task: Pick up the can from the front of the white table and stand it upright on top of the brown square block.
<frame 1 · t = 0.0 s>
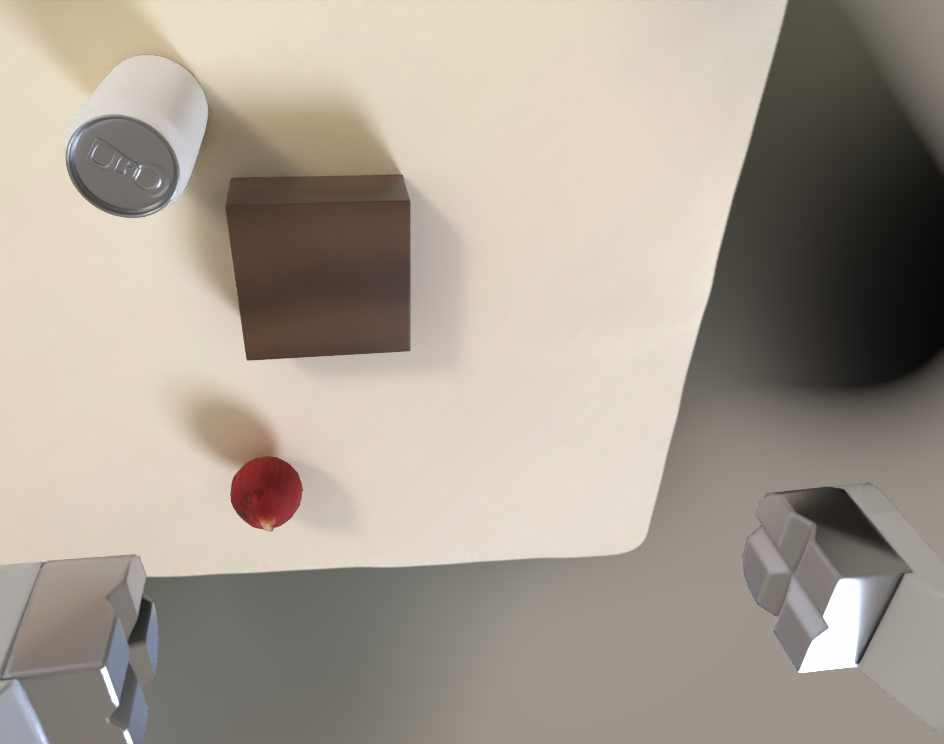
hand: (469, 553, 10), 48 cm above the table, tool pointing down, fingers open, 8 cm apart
can: (157, 104, 52), on the table
brown square block: (323, 253, 59), on the table
onion: (268, 461, 70), on the table
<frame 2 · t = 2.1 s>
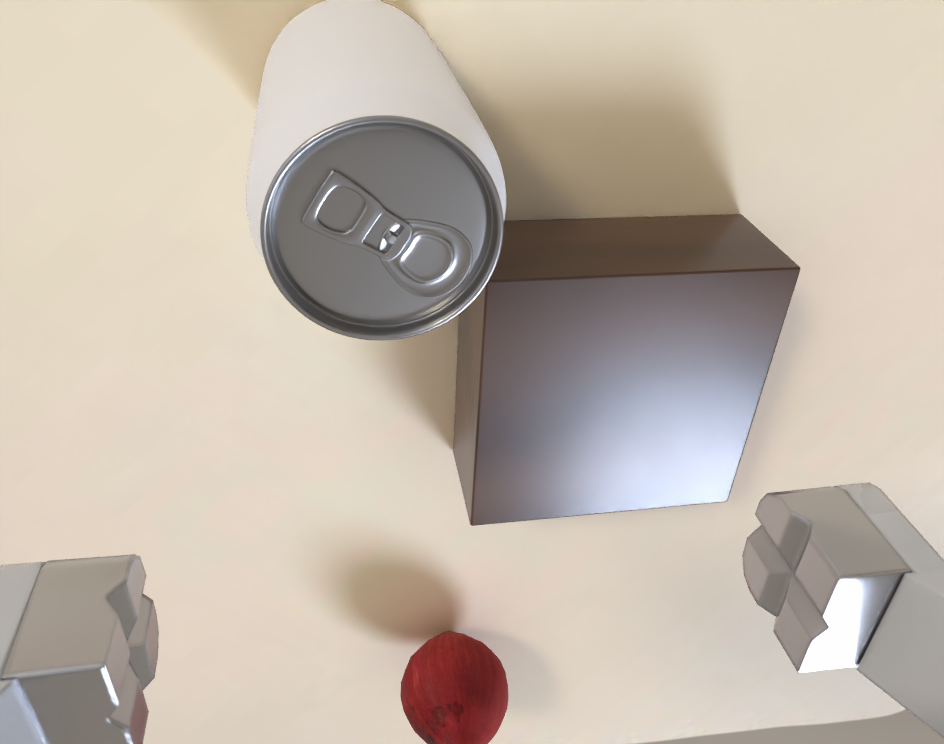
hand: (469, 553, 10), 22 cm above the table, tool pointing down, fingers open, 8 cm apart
can: (356, 91, 28), on the table
brown square block: (587, 340, 36), on the table
onion: (444, 632, 46), on the table
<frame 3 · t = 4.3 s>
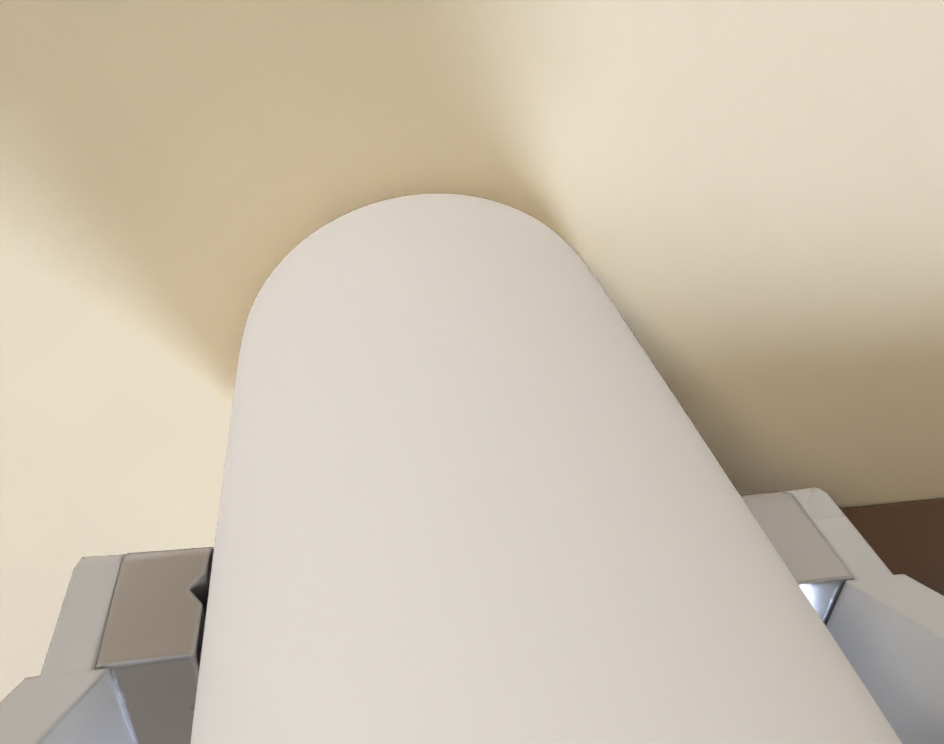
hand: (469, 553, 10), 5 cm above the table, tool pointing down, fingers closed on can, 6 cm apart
can: (425, 348, 14), on the table, touching gripper
brown square block: (779, 664, 22), on the table
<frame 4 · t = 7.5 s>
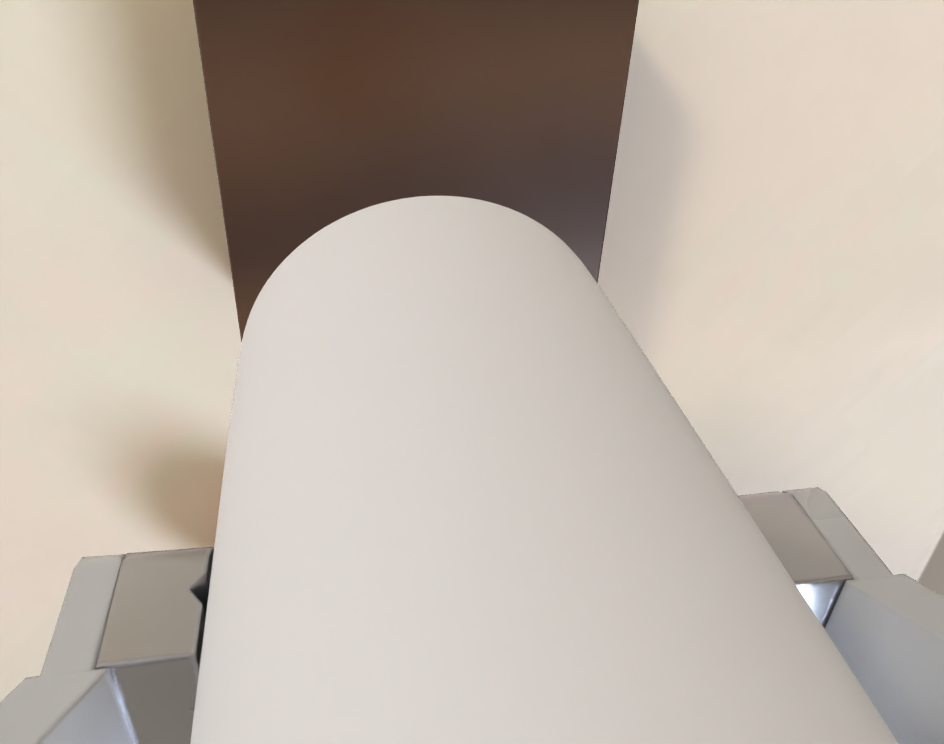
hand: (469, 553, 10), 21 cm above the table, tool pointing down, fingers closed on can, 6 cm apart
can: (425, 350, 14), point 16 cm above the table, touching gripper
brown square block: (407, 149, 28), on the table
when the fingers open (10 cm above the table, at t = 10.6 s): can stays where it is, resting on brown square block.
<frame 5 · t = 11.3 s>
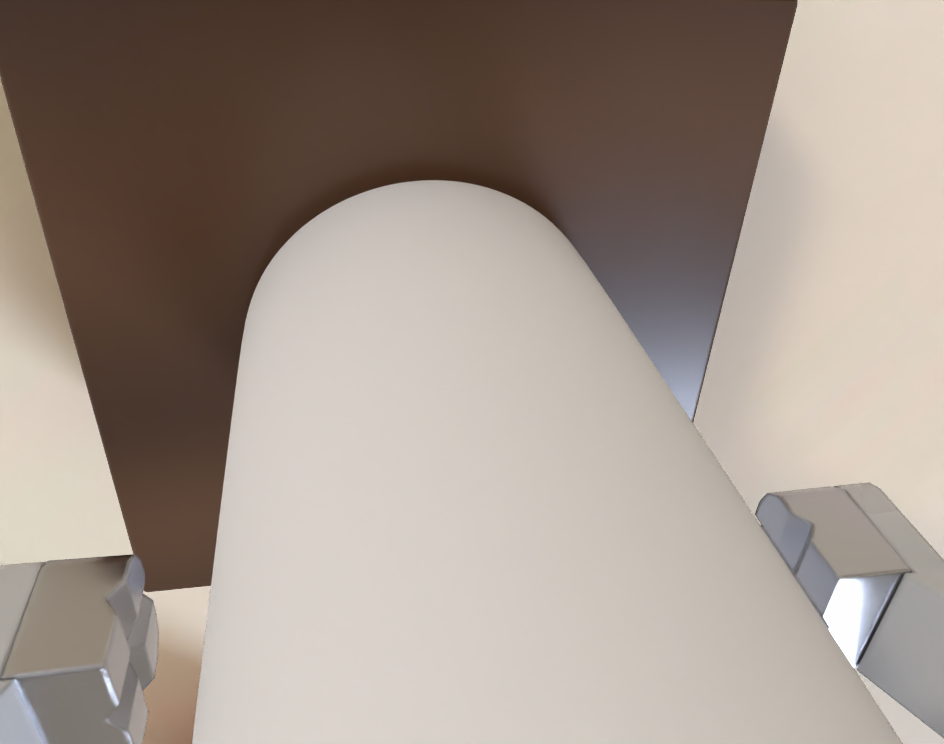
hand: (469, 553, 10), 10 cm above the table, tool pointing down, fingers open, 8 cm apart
can: (422, 332, 15), point 5 cm above the table, touching brown square block
brown square block: (395, 233, 19), on the table
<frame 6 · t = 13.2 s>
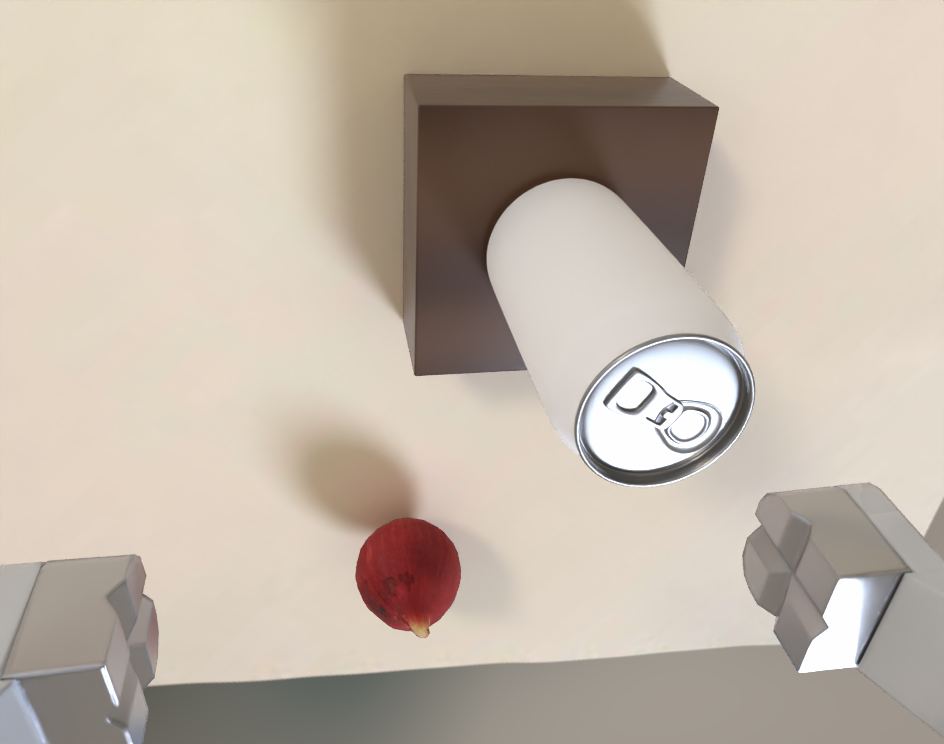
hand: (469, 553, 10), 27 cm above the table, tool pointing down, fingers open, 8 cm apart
can: (557, 246, 33), point 5 cm above the table, touching brown square block
brown square block: (529, 206, 37), on the table
onion: (401, 523, 47), on the table
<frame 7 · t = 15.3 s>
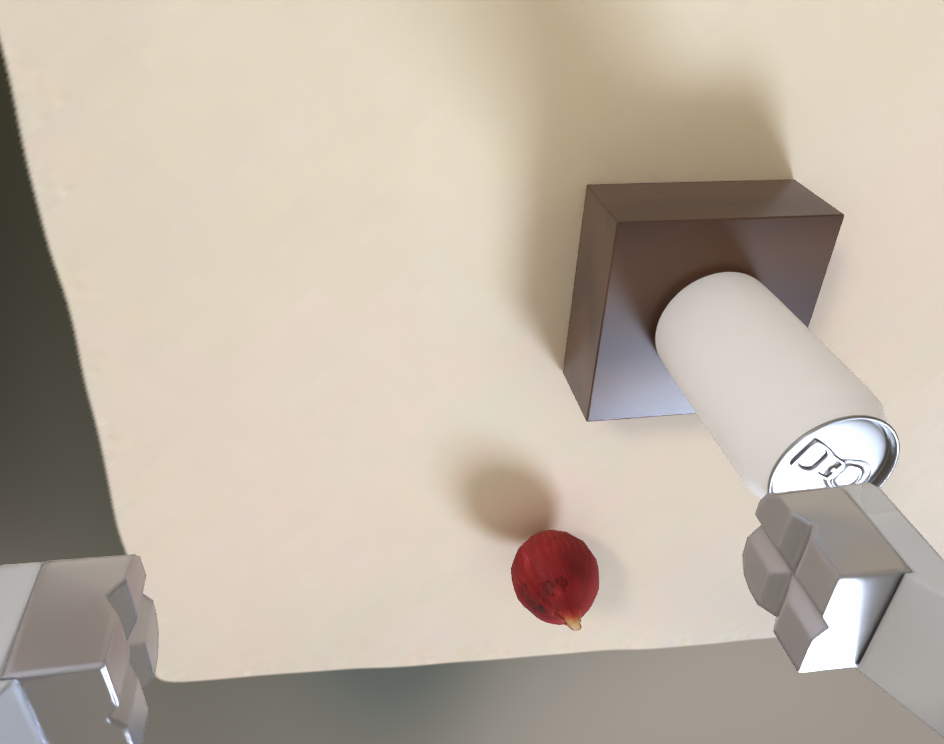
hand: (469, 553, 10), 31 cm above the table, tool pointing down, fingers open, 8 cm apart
can: (708, 320, 42), point 5 cm above the table, touching brown square block
brown square block: (672, 280, 46), on the table
onion: (540, 533, 56), on the table
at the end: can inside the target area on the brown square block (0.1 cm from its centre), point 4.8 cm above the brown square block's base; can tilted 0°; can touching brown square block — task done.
